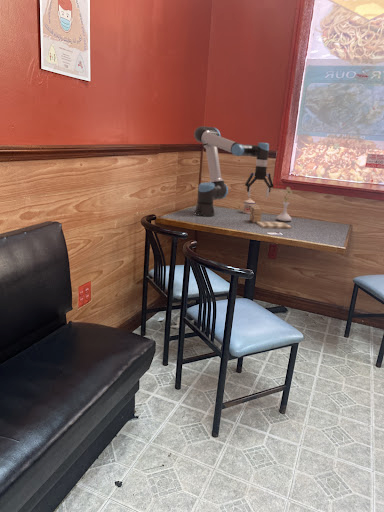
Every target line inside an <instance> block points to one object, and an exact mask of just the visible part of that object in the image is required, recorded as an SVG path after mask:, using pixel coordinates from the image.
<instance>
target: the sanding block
mask: <svg viewBox="0 0 384 512" xmlns="http://www.w3.org/2000/svg"><path fill="white" fill-rule="evenodd" d="M262 211H263V210H262V208H260V207H259V206H258V207H257V206H255V207H251V213H250V214H249V215H250V216H249V221H250V222H251V223H253V224H256V221H259V222H262V221H261V219H262V213H263V212H262Z"/></svg>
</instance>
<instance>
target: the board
mask: <svg viewBox="0 0 384 512" xmlns="http://www.w3.org/2000/svg"><path fill="white" fill-rule="evenodd" d="M255 224H256V225H258V226H260V228H262V229H282V230H283V229H284V230H285V229H286V230H291V229H292V226H291V225H289V224H287V223H286V222H285V221H261V222H259V221H256V223H255Z"/></svg>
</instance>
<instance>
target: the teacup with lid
mask: <svg viewBox="0 0 384 512" xmlns="http://www.w3.org/2000/svg"><path fill="white" fill-rule="evenodd" d="M251 207H259V205H258V204H256V201H254V200H253V199H252V198H250V197H248V199H246V200H243V210H242V212H243V214H246V215H247V214H248V215H250V213H251Z"/></svg>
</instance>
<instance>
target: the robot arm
mask: <svg viewBox="0 0 384 512" xmlns="http://www.w3.org/2000/svg"><path fill="white" fill-rule="evenodd" d="M193 135H194V139H195V141H197V142H198V143H201V144H202V145H203V148H204V149H205V152H206V153H205V154H206V159H207V166H208V172H209V173H208V174H209V182H208V181H207V182H206V181H205V182H202V183H199V184H198V190H197V191H198V192H197V204H196V207H195V209H194V213H196V214H199V215H205V216H204V217H215V209H214V208H215V207H214V201H215V200H216V201H217V200H219V201H220V200H222V199H223V200H224V199H225V198H226V197H227V196H228V193H229V188H228V186H227V184H225V180H224V179H223V178H222V173H221V171H222V170H221V166H220V159H219V158H220V157H219V149H221V150H224V151H226V152H229V153H231V154H232V155H233V156H236V157H256V162H255V165H256V166H255V169H254V170H255V171H254V172H250V175H249V176H248V179H247V180H246V182H245V183H244V186H245V187H246V192H247V197H248V198H250V197H251V189H252V187H251V186H252V185H253V184H254V183H255V182H256V181H257V180H259V181H263V182H264V183H265V185H266V186H267V188H266V195H265V197H266V198H269V195H270V193H271V189H272V188H274V186H275V185H274V183H273V180H272V177H271V173H267V168H268V167H267V166H268V160H269V158H268V157H269V151H270V144H269V143H268V142H257V143H258V144H256V145H255V144H243V143H240V142H236V141H234V140H231V139H228V138H226V137H223V136H222V135H221V132H220V130H219V129H218V128H216V127H214V126H205V125H202V126H199V127H197V128H196V129H195V130H194V133H193ZM253 177H254V178H253ZM266 177H267V178H266ZM267 179H268V180H267ZM194 213H193V214H194ZM199 215H198V216H199Z"/></svg>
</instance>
